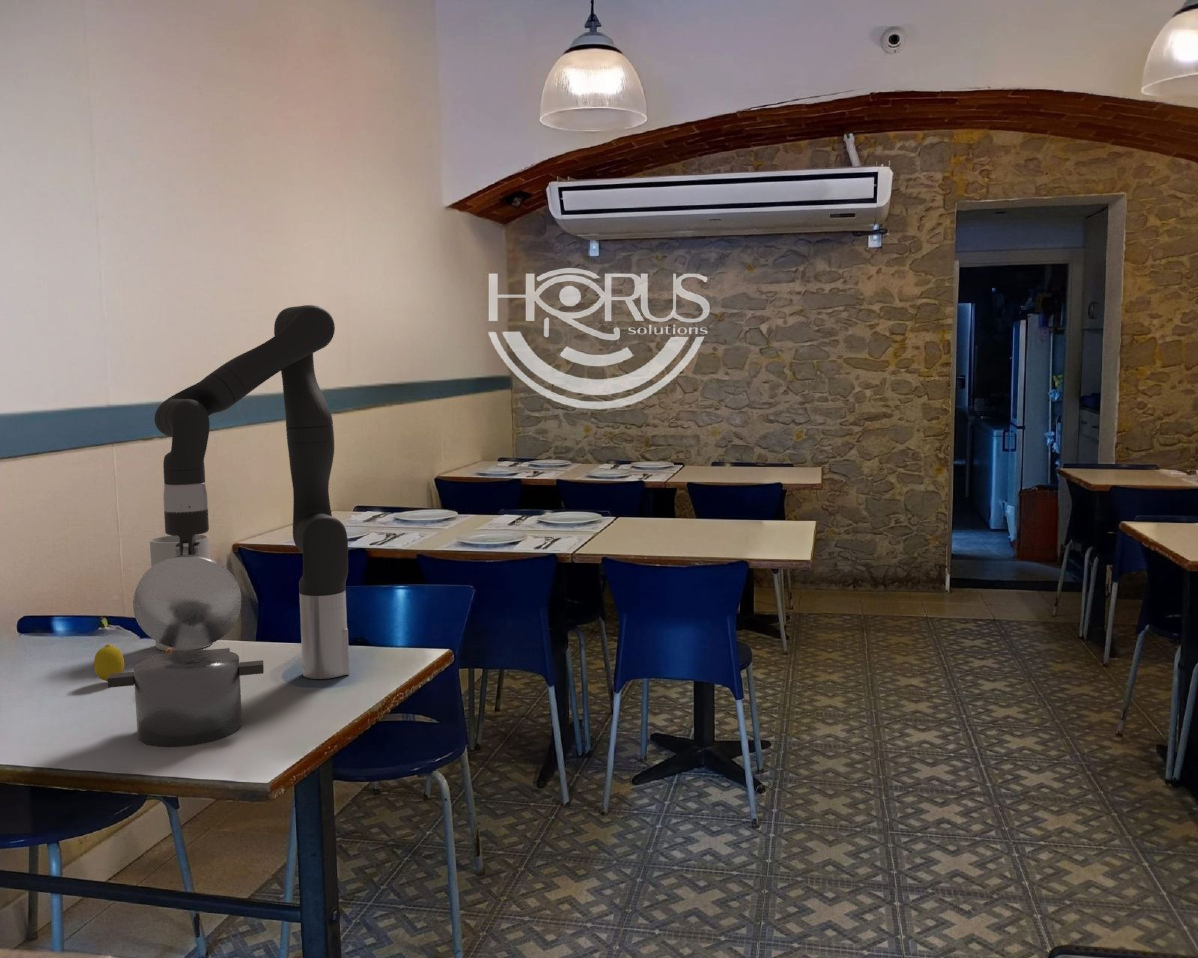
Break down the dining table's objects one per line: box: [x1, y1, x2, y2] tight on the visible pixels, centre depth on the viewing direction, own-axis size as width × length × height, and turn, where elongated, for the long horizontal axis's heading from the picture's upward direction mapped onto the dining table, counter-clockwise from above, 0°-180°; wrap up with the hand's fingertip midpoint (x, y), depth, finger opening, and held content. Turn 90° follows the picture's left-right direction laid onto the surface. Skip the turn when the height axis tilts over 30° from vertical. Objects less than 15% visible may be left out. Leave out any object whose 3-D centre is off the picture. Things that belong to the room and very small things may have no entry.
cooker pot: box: [107, 647, 265, 748], centre depth 181 cm, size 25×18×12 cm
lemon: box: [93, 643, 125, 683], centre depth 209 cm, size 6×6×8 cm
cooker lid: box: [132, 555, 242, 649], centre depth 187 cm, size 18×18×4 cm
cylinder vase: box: [149, 534, 212, 653], centre depth 238 cm, size 12×12×25 cm
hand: (190, 600), depth 192 cm, fingers closed
